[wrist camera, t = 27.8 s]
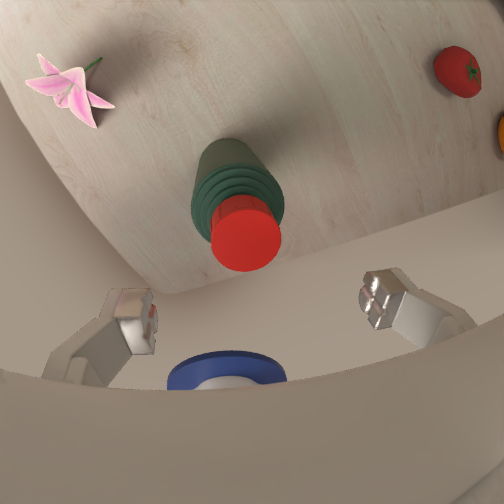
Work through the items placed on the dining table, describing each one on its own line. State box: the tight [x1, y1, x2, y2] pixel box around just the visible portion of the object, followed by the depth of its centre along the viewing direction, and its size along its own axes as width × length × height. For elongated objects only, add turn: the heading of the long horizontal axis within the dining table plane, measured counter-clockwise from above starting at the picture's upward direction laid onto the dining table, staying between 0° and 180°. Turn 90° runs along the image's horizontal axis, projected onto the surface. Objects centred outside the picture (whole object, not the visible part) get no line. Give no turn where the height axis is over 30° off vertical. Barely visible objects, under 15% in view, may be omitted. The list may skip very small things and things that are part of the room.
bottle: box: [191, 139, 284, 243], centre depth 23 cm, size 7×7×18 cm
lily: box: [24, 53, 115, 129], centre depth 20 cm, size 12×12×10 cm
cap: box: [210, 195, 281, 272], centre depth 16 cm, size 4×4×2 cm
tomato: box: [434, 46, 481, 98], centre depth 23 cm, size 8×8×7 cm
